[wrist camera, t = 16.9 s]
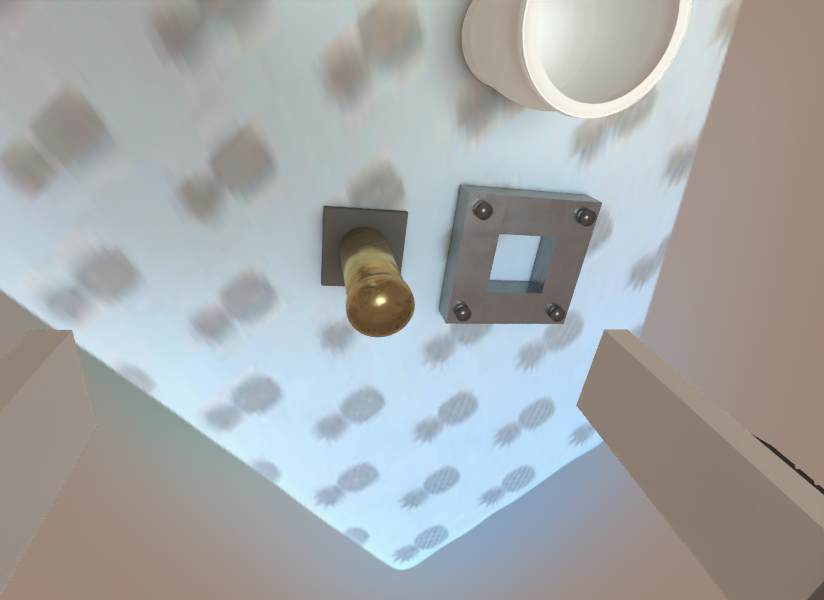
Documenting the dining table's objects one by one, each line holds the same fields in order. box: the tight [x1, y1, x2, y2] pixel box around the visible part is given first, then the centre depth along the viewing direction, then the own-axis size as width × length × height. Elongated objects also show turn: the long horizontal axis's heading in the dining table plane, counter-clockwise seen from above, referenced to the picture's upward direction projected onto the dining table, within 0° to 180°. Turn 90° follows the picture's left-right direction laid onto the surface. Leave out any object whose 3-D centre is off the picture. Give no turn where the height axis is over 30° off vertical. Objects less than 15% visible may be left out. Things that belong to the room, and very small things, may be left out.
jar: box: [462, 0, 692, 118], centre depth 32 cm, size 11×10×15 cm
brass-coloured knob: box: [339, 227, 415, 337], centre depth 39 cm, size 5×5×12 cm
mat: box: [321, 206, 408, 286], centre depth 44 cm, size 8×8×1 cm
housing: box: [439, 185, 602, 324], centre depth 47 cm, size 14×14×4 cm
